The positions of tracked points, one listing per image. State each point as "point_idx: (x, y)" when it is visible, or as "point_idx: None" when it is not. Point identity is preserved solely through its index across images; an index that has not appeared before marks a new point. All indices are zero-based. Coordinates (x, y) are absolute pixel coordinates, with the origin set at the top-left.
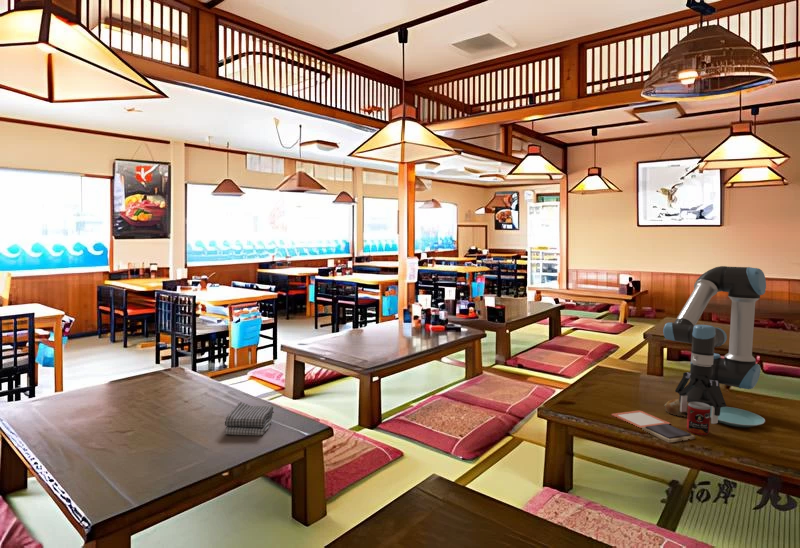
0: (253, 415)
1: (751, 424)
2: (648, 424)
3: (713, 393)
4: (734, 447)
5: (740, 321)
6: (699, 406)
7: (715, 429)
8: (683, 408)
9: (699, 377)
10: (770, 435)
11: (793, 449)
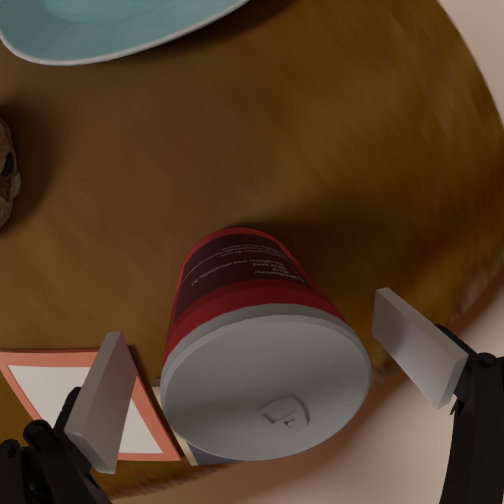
0: None
1: None
2: (146, 430)
3: (496, 473)
4: (425, 253)
5: None
6: (300, 416)
7: (227, 137)
8: (127, 376)
9: None
10: None
11: (465, 42)
